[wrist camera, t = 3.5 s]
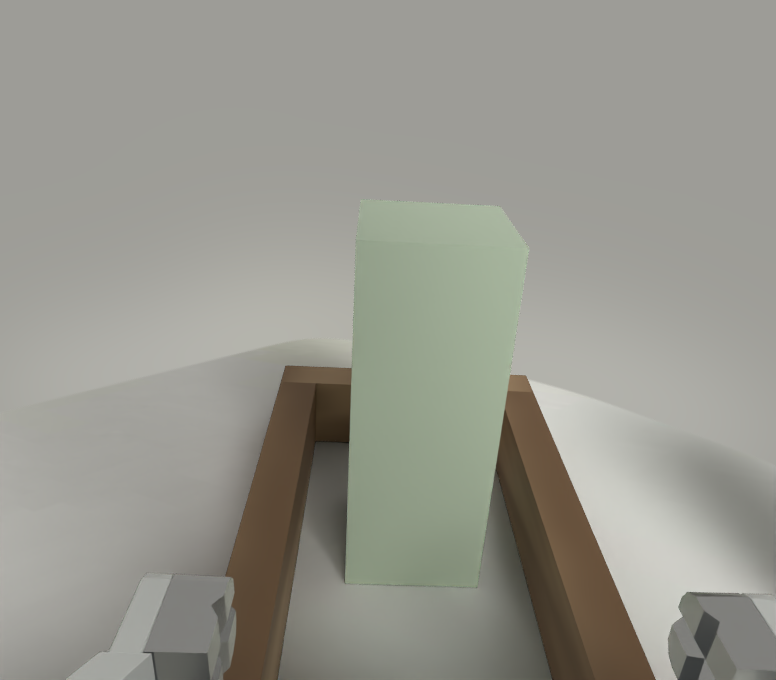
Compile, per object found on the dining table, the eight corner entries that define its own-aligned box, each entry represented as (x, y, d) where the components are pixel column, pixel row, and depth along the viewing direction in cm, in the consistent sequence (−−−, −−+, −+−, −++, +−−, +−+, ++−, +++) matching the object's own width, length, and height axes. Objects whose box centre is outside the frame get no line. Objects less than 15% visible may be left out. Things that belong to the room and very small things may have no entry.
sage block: (344, 583, 22) (355, 240, 16) (350, 496, 26) (360, 199, 20) (477, 587, 22) (529, 247, 17) (462, 500, 26) (500, 206, 21)
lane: (184, 842, 14) (172, 761, 13) (286, 421, 30) (285, 365, 29) (661, 851, 15) (695, 772, 14) (516, 430, 31) (526, 375, 29)
